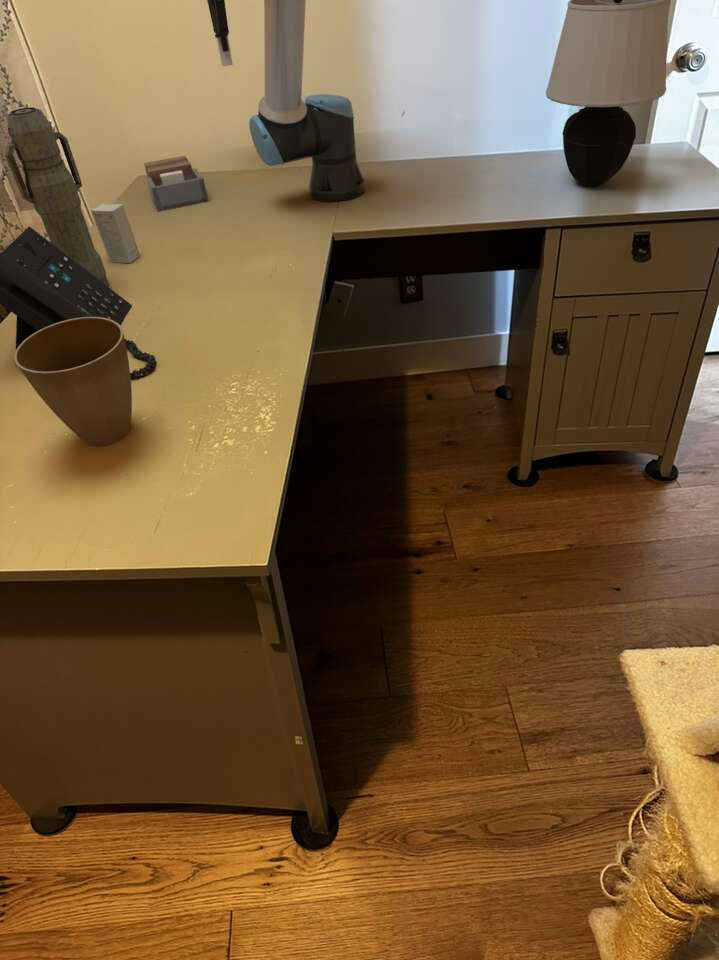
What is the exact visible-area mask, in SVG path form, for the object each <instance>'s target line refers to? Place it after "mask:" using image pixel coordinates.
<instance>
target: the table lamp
mask: <svg viewBox="0 0 719 960" xmlns="http://www.w3.org/2000/svg"><path fill="white" fill-rule="evenodd" d="M669 5H670V0H568V2H567V9H566V11H565V12H566V13H565V18H564V21H563V24H562V25H563V26H562V29H561V33H560V37H559V41H558V44H557V49H556V52H555V56H554V59H553V60H554V61H553V65H552V68H551V72H550V76H549V80H548V84H547V88H546V90H545V96H546V98H547V99H548V100H550V101H552V102H553V103H558V104H562V105H567V106H575V107H582V108H579V110H578V111H577V112H574V113H572V115H570V116H568V117H567V119H566V121H565V123H564V126H563V130H562V144H563V153H564V157H565V163H566V167H567V169H568V171H569V174H570V175H571V176H572V178H573V179H574V180H575V181H576V182H577V183H578V184H580V185H584V186H588V187H589V186H599V185H602V184H605V183H606V182H607V181H609V180H610V179H612V178H613V177H614V176H615V175H616V174H617V173H619V171H620V170H621V169H622V168H623V167H624V164H625V163H626V161H627V160H628V158H629V155H630V153H631V151H632V148H633V145H634V143H635V139H636V136H637V134H636V133H637V130H636V129H637V128H636V124H635V122H634V120H633V118H632V116H631V115H630V113H629V112H627V111H626V110H624V108H623V107H627V106H635V105H640V104H644V103H645V104H646V103H649V102H653V101H656V100H658V99H660V98H662V97H663V96H664V95H665V94H666V91H667V55H668V30H669V24H668V23H669ZM583 107H584V108H583Z"/></svg>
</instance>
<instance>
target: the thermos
mask: <svg viewBox="0 0 719 960" xmlns="http://www.w3.org/2000/svg"><path fill="white" fill-rule="evenodd" d="M6 121H7V131H8V134H9V138H10V139H11V141H10V142H11V143H9V144H7V145H6V147H5V152H4V156H5V158H6V160H7V164H8V166H9V168H10V171H11V173H12V175H13V179H14V181H15V183H16V185H17V188H18V190H19V193H20V195H21V198H22V199H23V200H24V201H26V202H28V203H31V204H32V205H33V208H34V210H35V212H36V213H37V214H38V215H39V217H40V218H41V221H42V224H43V226H44V229H45V231H46V233H47V236H48V239H49V242H50V243H52V244H53V245H54V246H56V247H57V248H58V249H60V250H61V251H62V252H63V253H65V254H66V255H67V256H69V257H70V258H71V259H73V260H74V261H75V262H76V263H78V264H79V265H80V266H82V267H83V268H84V269H86V270H87V271H88V272H89V273H91V274H92V275H93V276H95V277H96V278H97V279H99V280H100V281H101V282H102V283H104V284H105V285H106V286H108V287H109V288H110V283H109V281H108V278H107V271H106V269H105V266H104V263H103V259H102V257H101V255H100V254H99V252H98V251H97V250H96V248H95V246H94V243H93V239H92V237H91V233H90V230H89V228H88V225H87V223H86V222H87V221H86V220H85V217H84V213H83V211H82V208H81V207H82V205H81V204H82V201H81V198H80V195H79V193H80V189H81V188H83V184H82V179H81V176H80V174H79V173H80V172H79V170H78V167H77V164H76V161H75V158H74V155H73V151H72V148H71V147H70V143H69V141H68V140H69V139H68V138H67V137H66V136H65V135H64V134H62V133H61V132H59V131H54V130H53V127H52V124H51V123H50V121H49V120H48V118H47V117H46V115H45V114H44V112H43V110H42V109H40V108H37V107H33V106H32V107H22V108H17V109H14V110H11V111H10V112H9V114H7V115H6ZM57 141H59V142H60V145H61V147H62V150H63V153H64V155H65V158H66V162H67V165H68V167H69V169H68V168H67V166H66V164H65V162H64V159H62V156H61V150H60V147H59V144H58V142H57ZM14 151H15V152H16V156H17V158H18V160H19V161H20V163H21V165H22V171H23V173H24V178H23V176H22V174H21V171H20V169H19V167H18V164H17V161H16V159H15V156H14Z"/></svg>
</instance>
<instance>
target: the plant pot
mask: <svg viewBox="0 0 719 960" xmlns="http://www.w3.org/2000/svg"><path fill="white" fill-rule="evenodd" d="M124 333H125V332H124V330H123V327H122V325H121V324H120V325H119V324H118V323H117V322H115V321H113V320H110V319H107V318H102V317H82V318H74V319H69V320H65V321H61V322H58V323H55V324H52V325H50V326H47V327H45V328H43V329H41V330H39V331H37V332H35V333H34V334H32V335H31V336H29V337H28V338H26V339H25V340H24V341H23V342H22V343H21V344H20V345H19V347H18V348H17V350H16V349H15V351H14V355H13V359H14V362H15V364H16V366H17V367H18V368H19V370H20V371H21V373H22V374H23V376H24V378H25V379H26V380H27V381H28V383H29V384H30V385H31V387H32V388H33V389H34V391H35V392H36V394H37V395H38V396H39V397H40V398H41V400H42V401H43V402H44V403H45V404H46V406H47V407H48V408H50V410H51V411H52V412H53V413H54V414H55V415H56V416H57V418H58V419H59V420H60V421H61V422H62V423H63V424H64V425H65V426H66V427H68V428H69V429H70V431H72V432H73V434H75V435H76V436H77V437H78V438H79V439H81V440H82V441H84V443H86V444H87V445H89V446H94V447H102V446H104V447H105V446H108V445H112V444H114V443H117V442H118V441H119V442H120V441H121V440H122V439H123V438H125V437H126V436H127V435H128V434H129V432H130V431H131V425H132V415H133V414H132V412H133V411H132V409H133V405H132V404H133V403H132V402H133V400H132V399H133V398H132V397H133V396H132V394H133V393H132V391H133V390H132V379H131V377H130V373H131V369H130V362H129V357H128V356H129V355H128V348H127V347H126V343H125V339H126V338H125V334H124Z"/></svg>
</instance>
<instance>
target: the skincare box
mask: <svg viewBox="0 0 719 960" xmlns="http://www.w3.org/2000/svg"><path fill="white" fill-rule="evenodd" d="M90 212H91V215H92V217H93V221H94V223H95V226H96V228H97V231H98V234H99V237H100V240H101V242H102V245H103V248H104V249H105V253H106V256H107V259H108V261H109V263H123V264H132V262H134V261H135V260H137V259H138V258H139V257H140V256H141V254H140V252H139V248H138V245H137V243H136V240H135V239H136V238H135V237H134V233H133V230H132V228H131V224H130V221H129V218H128V215H127V212H126V209H125V206H124V204H123V203H100V204H99V205H97V206H96V207H94V208H92V209H90Z"/></svg>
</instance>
